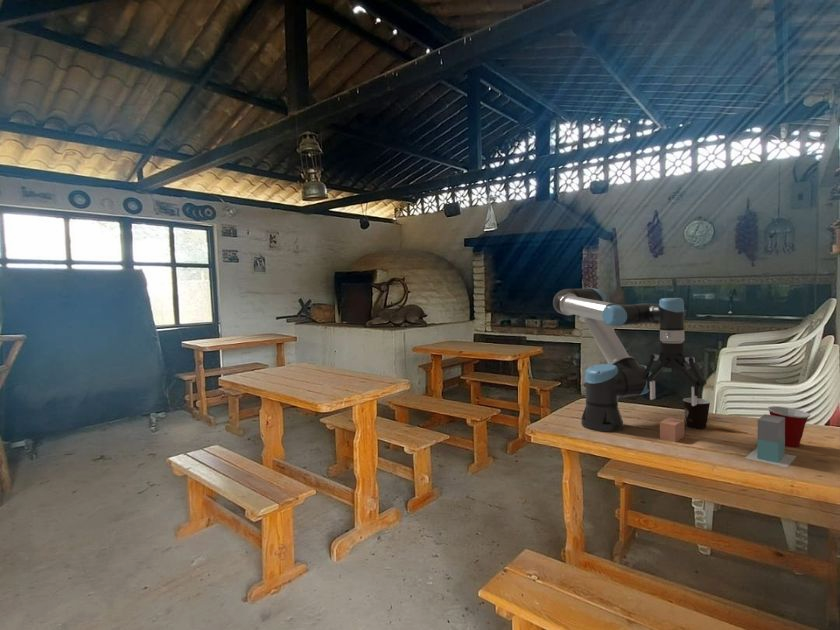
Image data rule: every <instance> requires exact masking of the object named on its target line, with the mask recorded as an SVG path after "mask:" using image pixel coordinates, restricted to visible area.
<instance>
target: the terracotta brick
mask: <svg viewBox="0 0 840 630" xmlns="http://www.w3.org/2000/svg"><path fill="white" fill-rule="evenodd" d="M684 437H685V420H684V419H679V418H673V417H668V418H665V419H664V420H663V419H662V420H661V421H660V422H659V439H660V440H665V441H668V442H669V441H670V442H674V443H677V442H678V441H680V440H681V439H683V438H684Z"/></svg>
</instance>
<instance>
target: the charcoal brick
mask: <svg viewBox="0 0 840 630" xmlns="http://www.w3.org/2000/svg"><path fill="white" fill-rule="evenodd" d="M784 437H785V417H779V416H773V415H770V414H763V415H761V416H760V417H759V418H758V419H757V439H760V440H765V441H770V442H775V443H779V442H780V441H781V440H782V439H783V438H784Z"/></svg>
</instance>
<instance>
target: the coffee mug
mask: <svg viewBox="0 0 840 630" xmlns="http://www.w3.org/2000/svg"><path fill="white" fill-rule="evenodd" d="M682 401H683V410H684V416H685V426H686V427H687V428H689V429H693V430H706V429H707V426H708V425H707V424H708V417H709V412H710V411H709V410H710V404H711V401H710V400H709V399H705V398H698V397H697V405H695V406H692V397H686V398H683V399H682Z"/></svg>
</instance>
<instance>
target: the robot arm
mask: <svg viewBox="0 0 840 630" xmlns="http://www.w3.org/2000/svg"><path fill="white" fill-rule="evenodd" d="M605 300H606V299H605V296H604V294H603V293H602V292H601V290H599V289H598V288H592V287H584V288H565V289H562V290H558V292H557V293H556V294H555V295H554V297H553V300H552V306H553V309H554V310H555V311H556V312H557V313H558V314H561V315H563V316H564V315H565V316H574V315H575V316H577V318H578V319H579V321H580V322H583V323H585V325H586V326H587V328H588V330H589V332H590V334H591V335H592V337H593V339H594V341H595V343H596V344H597V346H598V348H599V350H600V352H601V354H602V355H603V357H604V358H605V361H606V362H607V363H604V364H602V363H600V364H595V365H591V366H589V367H588V368H587V369H586V371H585V377H584V381H585V406H584V409H583V411H582V415H581V421H580V422H581V423H580V424H581V425H582V427H583V428H586V429H589V430H594V431H598V432H599V431H600V432H615V431H620V430H622V429H623V428H624V420H623V417H622V414H621V412H620V410H619V409H620V408H619V398H626V397H638V396H641V395H645V394H647V393H649V400H651V401H652V400H655V399H656V380H654V379H655V378H656V377H657V376H658V375H659V374H660V373H661V372H662V371H663V370H664V369H665V368H666V369H672V370H677V369H678V370H679V371H680V372H682V373H683V375H685V377H686V379H688V381H689V383H691V384H692V386H691V398H692V406H695V405H697V398H698V397H700V396H701V387H704V386H705V385H707V381H706V379H705V377H704V375H703V374H702V371H701V370H700V368H699V366H698V365H697V362H696V357H695V356H690V357H686V356H685V355H686V354H685V353H686V352H685V346H686V345H685V343H684V342H685V303H684V302H685V301H684V299H683V298H682V297H666V298H665V297H663V298H660V299H659V303H649V302H645V303H643V302H642V303H634V304H633V303H632V304H620V303H613V302H608V301H605ZM632 325H633V326H634V325H659V341H660V343H659V352H660V353H659V354H656V353H653V354H651V355H650V356H649V357H650V359H649V361H648V364H647V365H644V364H639V362H638V361H637V359H636V358H635V357H634V356H631V355H629V353H628V352H627V349H626V348H625V347H624V344H623V343H622V342H621V340H620V338H619V337H618V335H617V334H616V331H615V330H614V329H613V327H620V326H632ZM658 360H659V361H660V362H661V363H660V364H659V365H658V366H657V367H656V368H655V370H653V372H652V369H653V368H654V366H655V364H656V363H657V361H658ZM685 363H687V364H688V365H689V367H690V368H691V371H692V372H691V371H690V370H689V369H688V367H687V366H686V365H685Z"/></svg>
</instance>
